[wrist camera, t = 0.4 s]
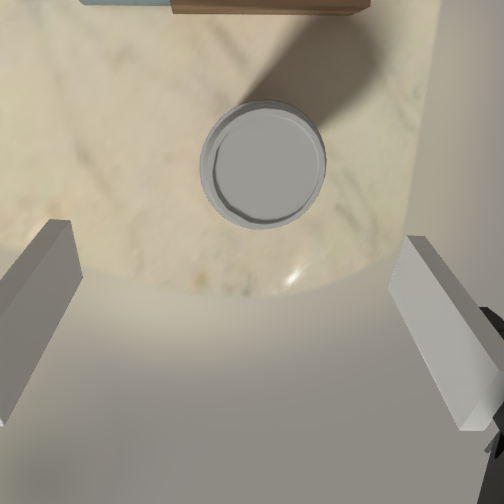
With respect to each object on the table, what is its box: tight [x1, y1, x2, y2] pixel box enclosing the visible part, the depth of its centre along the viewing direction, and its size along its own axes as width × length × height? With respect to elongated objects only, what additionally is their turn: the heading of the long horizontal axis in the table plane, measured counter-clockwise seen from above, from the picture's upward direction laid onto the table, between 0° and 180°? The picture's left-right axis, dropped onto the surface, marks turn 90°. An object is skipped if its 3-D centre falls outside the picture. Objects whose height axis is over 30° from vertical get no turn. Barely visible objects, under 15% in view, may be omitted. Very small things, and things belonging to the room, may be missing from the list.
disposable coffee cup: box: [200, 100, 326, 230], centre depth 33 cm, size 10×10×12 cm
